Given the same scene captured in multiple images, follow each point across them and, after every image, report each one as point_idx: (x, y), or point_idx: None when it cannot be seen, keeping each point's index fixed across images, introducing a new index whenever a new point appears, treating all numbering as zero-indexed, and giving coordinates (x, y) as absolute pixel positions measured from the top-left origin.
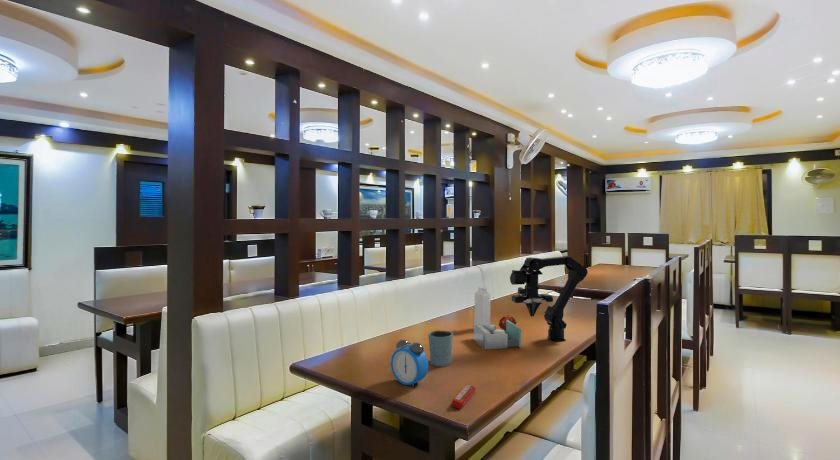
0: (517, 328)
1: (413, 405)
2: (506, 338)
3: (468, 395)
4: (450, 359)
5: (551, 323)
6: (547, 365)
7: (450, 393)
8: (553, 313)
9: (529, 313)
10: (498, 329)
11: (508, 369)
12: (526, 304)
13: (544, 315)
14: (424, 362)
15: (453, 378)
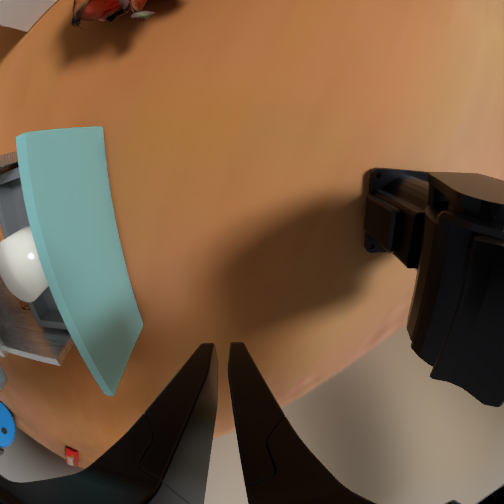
0: (93, 372)
1: (36, 440)
2: (65, 350)
3: (77, 462)
4: (2, 383)
5: (411, 304)
6: None
7: (54, 442)
8: (459, 382)
9: (184, 366)
10: (9, 242)
11: (109, 432)
12: (90, 486)
13: (451, 228)
14: (10, 443)
15: (37, 419)
